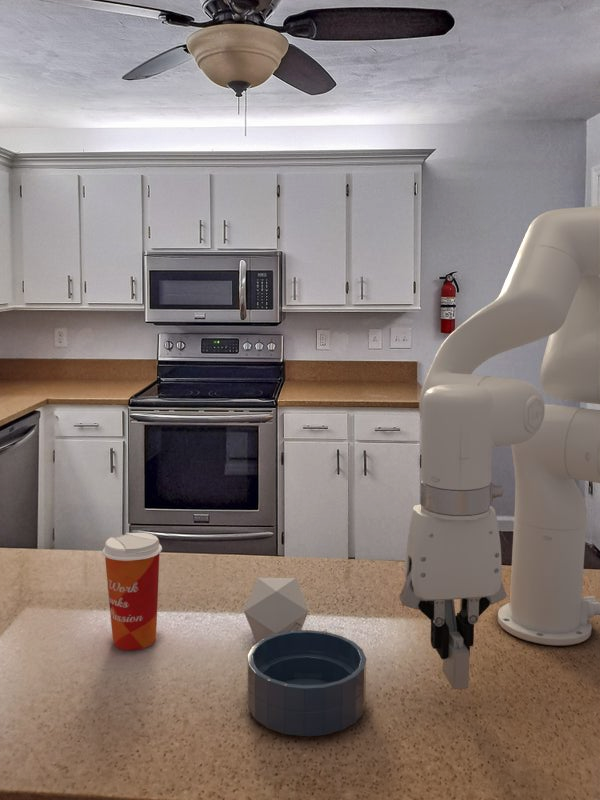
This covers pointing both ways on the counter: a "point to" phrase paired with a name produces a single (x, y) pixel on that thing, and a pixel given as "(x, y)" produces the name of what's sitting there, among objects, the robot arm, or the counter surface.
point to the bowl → (306, 682)
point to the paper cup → (133, 588)
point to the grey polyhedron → (275, 607)
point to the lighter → (455, 652)
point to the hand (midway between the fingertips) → (451, 651)
